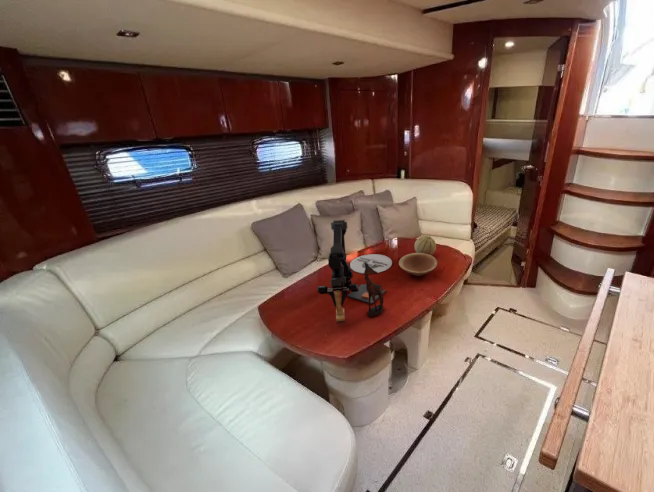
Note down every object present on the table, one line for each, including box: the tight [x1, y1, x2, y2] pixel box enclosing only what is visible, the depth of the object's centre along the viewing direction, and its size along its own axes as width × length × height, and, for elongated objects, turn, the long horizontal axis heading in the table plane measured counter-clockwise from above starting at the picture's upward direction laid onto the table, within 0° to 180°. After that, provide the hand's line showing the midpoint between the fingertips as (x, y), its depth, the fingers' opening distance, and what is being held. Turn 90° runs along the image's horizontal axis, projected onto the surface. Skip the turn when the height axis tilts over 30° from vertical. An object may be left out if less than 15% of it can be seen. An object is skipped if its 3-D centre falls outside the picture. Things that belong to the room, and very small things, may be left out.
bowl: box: [398, 252, 438, 277], centre depth 189 cm, size 24×24×8 cm
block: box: [362, 292, 369, 299], centre depth 166 cm, size 4×4×1 cm
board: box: [347, 283, 386, 306], centre depth 169 cm, size 16×14×1 cm
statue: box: [363, 262, 384, 318], centre depth 147 cm, size 12×7×30 cm, turn 139°
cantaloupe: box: [413, 235, 437, 256], centre depth 207 cm, size 15×15×15 cm
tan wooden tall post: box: [334, 290, 346, 324], centre depth 144 cm, size 8×4×15 cm, turn 10°
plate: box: [349, 253, 393, 275], centre depth 202 cm, size 28×28×1 cm
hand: (338, 306), depth 142 cm, fingers closed on tan wooden tall post, 3 cm apart
